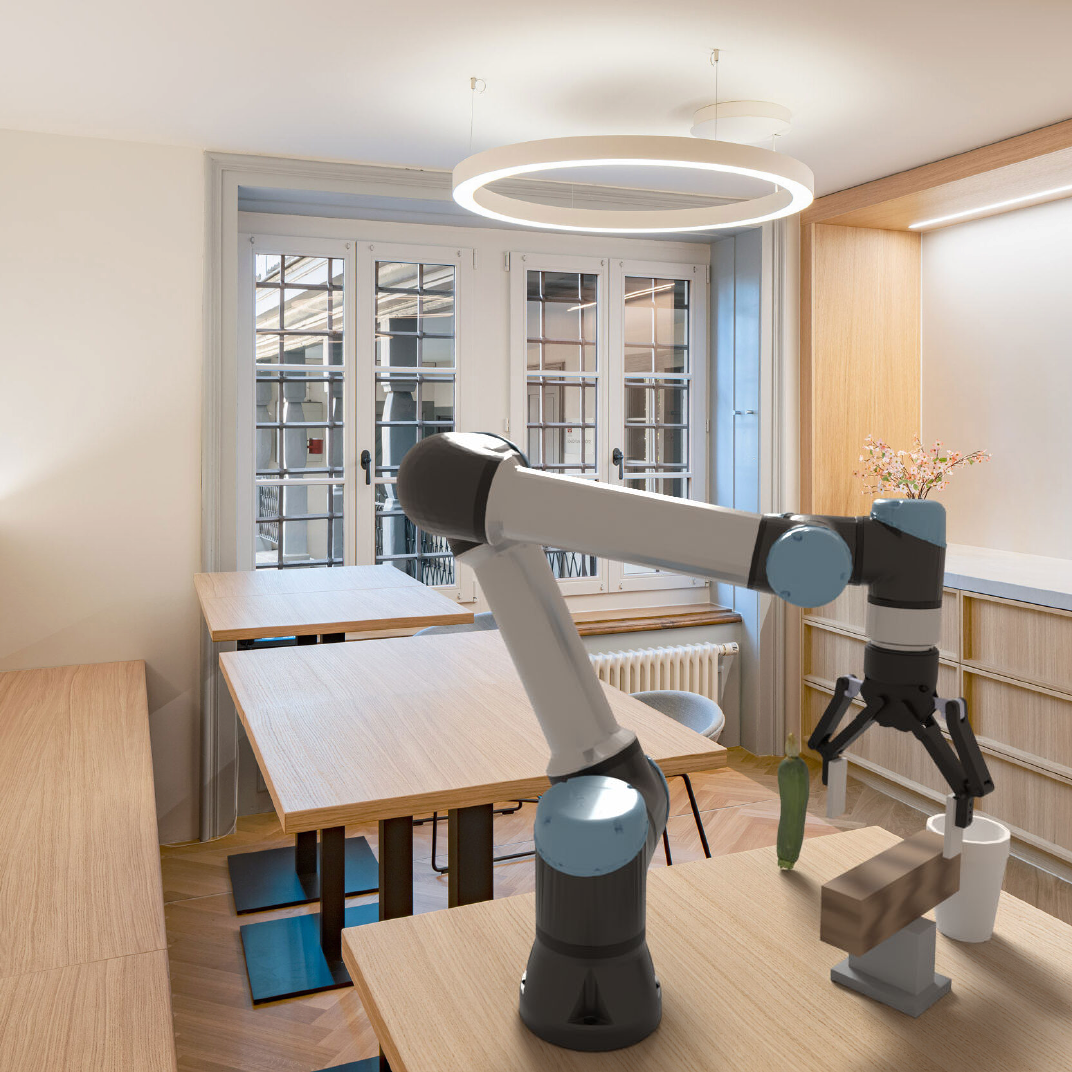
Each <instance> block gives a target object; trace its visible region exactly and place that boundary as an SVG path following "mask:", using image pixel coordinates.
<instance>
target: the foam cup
mask: <svg viewBox="0 0 1072 1072" xmlns="http://www.w3.org/2000/svg"><path fill="white" fill-rule="evenodd" d="M925 825H926V829H925V830H928V831H932V832H935V833H938V834H941V835H944V829H945V813H938V814H935V815H933V816H930V817H928V818H927V820H926V824H925ZM1010 845H1011V830H1009V829H1008V828H1007V827H1006V826H1004V825H1003V824H1002V823H999V822H997V821H995V820H992V819H990V818H987V817H983V816H977V815H975V814H973V821H972V823H971V825H970V826H968V827H966V828H965V829H963V841H962V852H961V864H960V888H959V891H958V892H957V893H955V894H954V895H952V896H951V897H949V898H948V899H946V900H945V901H943V902H942V903H940V904H939V905H937V906H936V907H934V908H933V911H934V919H935V921H934V922H937V923H936V929H938V931H939V933H941V934H942V935H944V936H946V937H948V938H950V939H953V940H955V941H959V942H963V943H972V944H973V943H974V944H977V943H985V942H984V941H986V942H987V941H989V940H991V939H992V934H993V931H994V927H995V921H996V917H997V916H996V915H997V911H998V906H999V901H1000V896H1001V891H1002V885H1003V880H1004V876H1005V870H1006V865H1007V860H1008V858H1009V857H1010V847H1011V846H1010Z"/></svg>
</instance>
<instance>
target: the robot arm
mask: <svg viewBox="0 0 1072 1072" xmlns="http://www.w3.org/2000/svg"><path fill="white" fill-rule="evenodd" d="M395 483H396V484H395V485H396V487H395V488H396V497H397V499H398V502H399V505H400V507H401V509H402V510H403V513H404V514H405V516H406V517H407V518H408V519H409V521H410V522H411V523H412V524H413V525H415V526H416V527H417V528H418V529H419V530H421V531H423V532H425V533H427V534H429V535H431V536H435V537H438V538H439V537H440V538H445V539H446V542H447V545H448V546H449V549H450V551H451V553H452V555H453V558H454V559H455V561H456V562H459V563H462V564H464V565H466V566H469V568H471V569H472V570H473V572H474V574H475V577H476V579H477V582H478V583H479V586H480V588H481V591H482V593H483V596H484V598H485V600H486V602H487V605H488V607H489V610H490V612H491V614H492V616H493V619H494V621H495V623H496V626H497V628H498V631H499V633H500V635H501V638H502V639H503V642H504V645H505V647H506V650H507V652H508V653H509V657H510V659H511V661H512V662H513V666H514V667H515V670H516V674H517V675H518V677H519V680H520V682H521V685H522V687H523V689H524V691H525V695H526V696H527V698H528V701H529V703H530V705H531V708H532V710H533V712H534V715H535V717H536V719H537V722H538V725H539V727H540V729H541V731H542V734H543V735H544V738H545V740H546V744H547V745H548V748H549V751H550V752H551V753H550V758H549V759H548V760H549V761H548V764H547V765H546V768H545V774H546V776H547V779H548V780H549V783H550V786H551V787H550V788H548V789H547V790H546V791H545V792H543V794H542V795H541V797H540V798H539V801H538V802H537V806H536V809H535V810H536V811H535V812H536V813H535V820H534V822H533V840H534V841H533V842H534V856H535V857H534V862H535V863H534V864H535V866H534V871H535V879H534V880H535V884H534V886H535V887H534V888H535V891H534V893H535V903H534V904H535V907H534V908H535V937H534V941H533V944H532V947H531V950H530V953H529V956H528V960H527V964H526V970H525V971H524V973H523V975H522V976H521V980H520V983H519V988H518V990H519V991H518V992H519V994H518V996H519V1000H518V1001H519V1005H518V1006H519V1013H520V1017H521V1019H522V1021H523V1023H524V1024H525V1025H526V1027H527V1028H528V1029H529V1030H530V1031H531V1032H532V1033H534V1034H535V1035H536V1036H537V1037H539V1038H541V1039H543V1040H545V1041H547V1042H548V1043H551V1044H553V1045H557V1046H559V1047H563V1048H566V1049H571V1050H577V1051H578V1050H579V1051H584V1052H585V1051H587V1052H598V1051H600V1052H601V1051H613V1050H615V1049H616V1050H617V1049H622V1048H625V1047H628V1046H631V1045H634V1044H636V1043H638V1042H640V1041H643V1040H644V1039H645V1038H647V1037H648V1036H649V1035H651V1034H653V1032H654V1031H655V1030H656V1029H657V1027H658V1025H659V1024H660V1021H661V1019H662V1014H663V1008H662V1007H663V991H662V987H661V986H662V985H661V983H660V981H659V978H658V976H657V974H656V971H655V965H654V962H653V958H652V954H651V952H650V949H649V945H648V943H647V937H646V936H647V935H646V934H647V929H646V928H647V926H646V925H647V923H646V922H647V879H648V870H649V867H650V864H651V862H652V858H653V856H654V853H656V852H655V851H656V850H657V849H656V848H657V846H658V844H659V842H660V839H661V837H662V835H663V833H664V831H665V830H666V829H665V828H666V827H667V825H668V822H669V818H670V817H669V816H670V810H671V800H670V798H671V797H670V796H671V795H670V789H669V784H668V782H667V779H666V777H665V774H664V772H663V771H662V769H661V767H660V766H659V765H658V764H657V762H655V760H654V759H653V758H651V757H650V756H649V755H648V754H645V751H644V750H643V747H642V746H641V743H640V741H639V738H638V736H637V734H636V732H635V731H633V730H631V729H629V728H627V727H624V726H621V724H619V723H618V720H617V719H616V716H615V715H614V712H613V710H612V707H611V706H610V703H609V701H608V698H607V696H606V694H605V691H604V689H603V687H602V684H601V682H600V679H599V678H598V675H597V672H596V670H595V668H594V665H593V664H592V661H591V659H590V656H589V654H588V651H587V650H586V647H585V645H584V642H583V639H582V638H581V635H580V633H579V631H578V629H577V626H576V624H575V622H574V618H573V616H572V614H571V612H570V609H569V608H568V604H567V602H566V601H565V597H564V595H563V592H562V591H561V589H560V586H559V584H558V581H557V579H556V577H555V574H554V573H553V570H552V567H551V565H550V563H549V560H548V558H547V556H546V553H545V551H544V549H543V547H547V548H551V549H555V550H560V551H566V552H571V553H576V554H579V555H580V554H581V555H583V556H584V555H585V556H590V557H594V558H600V559H604V560H609V561H614V562H619V563H623V564H628V565H632V566H638V567H642V568H647V569H652V570H657V571H661V572H666V573H671V574H677V575H681V576H685V577H686V576H687V577H691V578H695V579H701V580H706V581H711V582H713V583H714V582H715V583H719V584H724V585H728V586H734V587H739V588H743V589H747V590H751V591H755V592H758V593H763V594H768V595H772V596H778V597H779V598H780V599H781V600H783V601H785V602H787V603H788V604H790V605H791V606H795V607H800V608H803V609H812V608H820V607H823V606H826V605H828V604H830V603H832V602H834V601H835V600H836V599H837V598H838V597H839V596H841V594H842V593H843V591H844V590H845V589H846V586H854V587H861V586H862V587H863V586H865V587H867V594H866V595H867V596H866V597H867V598H866V600H867V602H866V614H865V615H866V617H865V628H864V629H865V630H864V631H865V632H864V634H865V637H866V638H867V639H869V640H868V641H867V642H866V643H865V644H864V653H863V654H864V655H863V669H862V670H863V673H864V678H863V680H861V679H858V677H857V676H856V674H853V673H850V674H846V675H842V676H839V677H837V678H836V682H835V688H834V693H833V697H832V698H831V700H830V702H829V703H828V705H827V707H826V709H825V711H824V712H823V713H822V715H821V717H820V719H819V721H818V723H817V724H816V727H815V728H814V730H813V732H812V733H811V735H810V737H809V739H808V740H807V743H806V744H807V747H808V749H809V750H811V751H816V752H817V753H819V755H820V756H821V757H822V764H821V765H822V767H821V768H822V769H821V770H822V771H821V782H822V785H823V786H826V787H827V793H826V810H825V811H826V814H825V817H826V818H828V819H831V820H833V819H835V818H837V817H839V816H842V815H843V814H845V813H846V812H845V811H846V798H847V796H846V794H847V792H846V791H847V779H848V778H847V775H848V773H847V772H848V758H847V757H844V756H841V755H842V754H844V752H845V751H846V750H847V749H848V748H849V747H850V746H851V745H852V744H853V743H855V741H856V740H857V739H859V738H860V737H861V735H863V734H864V733H865V732H866V731H867V730H868V729H869V728H870V727H871V726H872V725H874V724H875V723H878V726H880V727H884V728H893V729H895V730H897V731H899V732H903V733H908V732H911V733H912V734H913V735H914V737H915V738H916V740H917V741H919V742H921V744H922V745H923V747H924V748H925V750H926V752H927V753H928V755H929V756H930V758H931V759H932V761H933V762H934V764H935V766H936V767H937V768H938V770H939V772H940V773H941V774H942V776H943V779H944V780H945V781H946V782H947V784H948V785H949V788H950V789H951V790H952V793H950V794H948V795H946V796H945V797H946V800H945V801H946V802H945V813H944V814H945V829H944V845H943V857H945V858H948V859H951V858H953V857H954V856H956V855H958V854H959V853H961V852H962V841H963V829H965V828H966V827H968V826H970V825H971V823H972V821H973V815H974V807H975V806H974V805H975V798H983V797H984V796H987V795H989V794H991V793H992V792H994V791H995V787H996V786H995V783H994V781H993V779H992V776H991V773H990V771H989V768H988V766H987V764H986V761H985V759H984V756H983V753H982V751H981V748H980V745H979V743H978V741H977V739H976V736H975V734H974V733H975V732H974V731H973V728H972V726H971V723H970V721H969V715H968V714H969V711H968V708H969V707H968V702H967V700H966V698H965V697H962V696H960V697H956V698H954V699H953V698H944V697H939V695H938V691H937V684H938V681H939V679H938V678H939V666H940V665H939V663H940V650H939V648H937V647H936V646H935V645H936V644H938V643H939V642H940V641H941V630H942V629H941V628H942V611H943V610H942V608H943V593H944V583H945V581H944V579H945V567H946V566H945V565H946V555H947V554H946V553H947V547H948V544H947V511H946V508H945V507H944V505H943V504H942V503H940V502H938V501H937V500H931V499H923V498H922V499H921V498H907V497H905V498H901V497H900V498H899V497H898V498H893V497H892V498H891V497H890V498H888V497H887V498H885V497H884V498H878V499H875V500H874V501H873V503H872V505H871V510H870V511H869V515H862V516H861V515H860V516H847V515H846V516H843V515H830V514H829V515H828V514H827V515H826V514H809V513H807V514H806V513H794V512H790V511H787V512H782V513H764V514H762V513H757V512H752V511H746V510H742V509H737V508H731V507H726V506H721V505H715V504H712V503H705V502H701V501H695V500H689V499H686V498H681V497H674V496H669V495H664V494H661V493H655V492H649V491H644V490H638V489H634V488H629V487H623V486H619V485H614V484H613V485H612V484H608V483H604V482H597V481H593V480H588V479H582V478H577V477H572V476H568V475H562V474H558V473H551V472H547V471H540V470H536V469H533V467H532V464H531V461H530V460H529V458H528V457H527V455H526V454H525V453H524V451H523V450H522V449H521V448H520V447H519V446H518V445H517V444H515V443H514V442H512V441H510V440H508V439H507V438H505V437H502V436H501V435H497V434H495V433H491V432H486V431H470V432H453V431H450V432H448V431H446V432H440V433H433V434H431V435H429V436H426V437H424V438H423V439H421V440H419V441H418V442H416V443H415V444H414V445H413V446H411V448H409V450H408V451H407V453H406V454H405V455H404V457H403V458H402V460H401V462H400V465H399V467H398V470H397V475H396V482H395ZM859 693H860V696H861V698H862V699H863V701H864V703H865V704H866V706H865V707H864V708H863V709H862V710H861V711H860V712H859V713H857V714H856V716H855V718H854V719H853V720H852V721H851V722H850V723H849V724H847V726H846V727H845V728H843V729H842V730H840V732H839V733H838V734H837V735H836V736H835V737H834V738H833V739H832V740H831V738H832V737H833V735H834V733H835V731H836V730H837V728H838V726H839V724H840V723H841V721H842V720H843V717H844V716H845V714H846V713H847V711H848V709H849V708H850V706H851V704H852V702H853V700H854V698H855V697H857V696H858V695H859ZM936 711H939V712H940V716H941V719H944V720H945V723H946V727H947V730H948V733H949V736H950V738H951V742H952V743H953V746H954V749H955V751H956V753H957V754H956V753H955V752H954V750H953V749H952V747H951V745H950V744H949V743H948V741H947V739H946V738H945V735H944V734H943V733H942V731H941V730H942V729H941V725H940V724H939V722H938V721H937V720H936V718H935V716H934V715H933V714H934V713H936Z"/></svg>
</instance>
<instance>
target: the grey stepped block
mask: <svg viewBox="0 0 1072 1072" xmlns="http://www.w3.org/2000/svg"><path fill="white" fill-rule="evenodd" d="M936 923H937V922H936V921H934V920H932V919H929V918H926V917H924V916H921V917H919V918H918V919H916V920H915V921H913V922H912V923H910V924H909V925H907V926H906V927H904V928H903V929H901V930H900V931H898V932H897V933H895V934H894V935H892V936H891V937H889V938H888V939H886V940H885V941H883V942H882V943H880V944H879V945H877V946H876V947H874V948H873V949H871V950H870V951H868V952H867V953H865V954H864V955H862V956H861V957H857V956H855V955H852V954H850V953H848V956H847V957H846V958H844V959H843V960H842V961H840V962H838V963H837V964H835V965H834V966H833V967H831V968H830V980H832V981H833V982H836V983H838V984H841V985H843V986H845V987H848V988H850V989H852V990H853V991H856V992H858V993H860V994H863V995H864V996H867V997H869V998H871V999H873V1000H875V1001H877V1002H880V1003H882V1004H884V1005H887V1006H888V1007H891V1008H892V1009H895V1010H898V1011H900V1012H902V1013H903V1014H906V1015H908V1016H910V1017H913V1018H915V1019H917V1018H918V1017H919V1016H920V1015H922V1014H923V1013H924V1012H925V1011H926V1010H928V1009H930V1007H932V1005H934V1004H935V1003H936V1002H937V1001H939V1000H940V999H941V998H942V997H944V996H946V995H947V993H948V992H949V991H951V990H952V982H953V981H952V978H950V977H948V976H946V975H943V974H941V973H939V972H936V971H935V970H936V969H935V968H936V967H935V966H936V948H937V947H936V945H937V943H936V942H937V927H936Z"/></svg>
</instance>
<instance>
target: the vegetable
mask: <svg viewBox="0 0 1072 1072" xmlns="http://www.w3.org/2000/svg"><path fill="white" fill-rule="evenodd" d="M795 734H796V733H795V732H790V733H788V736H787V740H786V743H785V747H784V752H785V753H786V757H784V758H783V759H782V760H781V762H780V763H779V766H778V768H777V782H778V783H777V784H778V791H779V798H780V814H779V821H778V828H777V832H776V834H777V835H776V856H777V866H778V867H779V868H780V869H783V868H784V869H788V870H792V869H793V868H794V866H795V863H796V862H797V861H798V860H799V857H800V853H801V850H802V846H803V841H804V838H805V837H804V836H805V825H806V824H805V823H806V817H807V810H808V803H809V800H810V799H809V798H810V772H809V768H808V765H807V763H806V762H805V760H804V759H803V758H801V757H800V756H799V755H800V750H799V746H798V740H797V739H798V738H797V737H796V736H795Z"/></svg>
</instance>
